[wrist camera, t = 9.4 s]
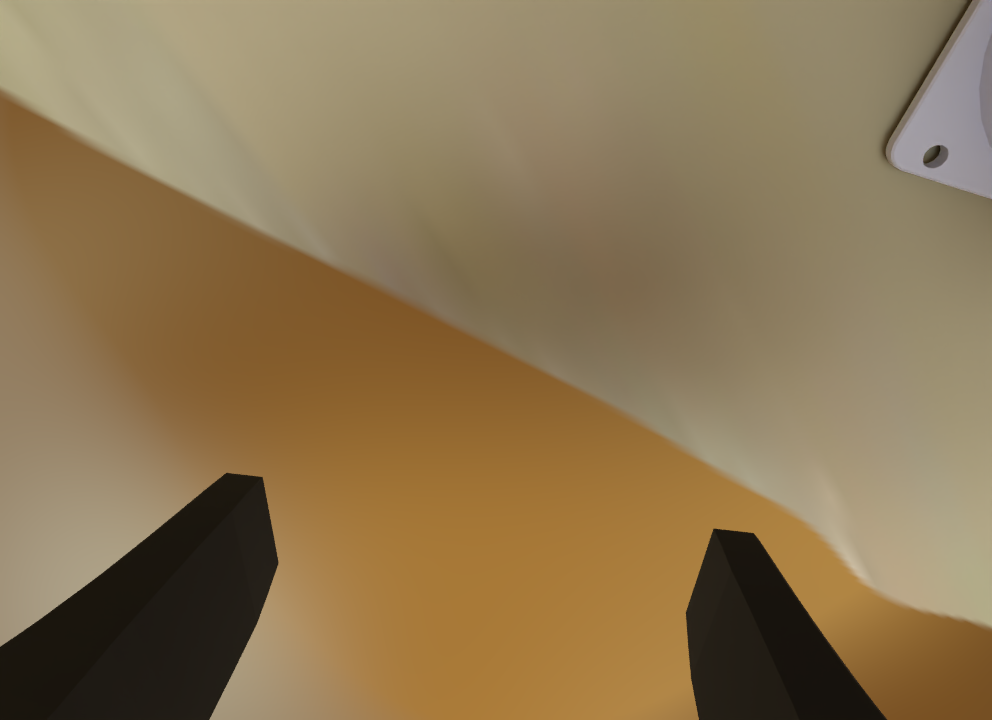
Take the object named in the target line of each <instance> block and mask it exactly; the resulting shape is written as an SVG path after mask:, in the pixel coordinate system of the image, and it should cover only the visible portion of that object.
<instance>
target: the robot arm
mask: <svg viewBox="0 0 992 720" xmlns="http://www.w3.org/2000/svg"><path fill="white" fill-rule="evenodd" d="M936 145H940V149H941V150H940V153H939V155H938V156H937V157H936V159H935V160H934V161H931V162H929V163H923V157H924V154H925V153H926V152H927V150H928V149H929V148H931V147H933V146H936ZM886 157H887V159H888V161H889V163H890V164H892V165H893V166H895V167H896V168H898V169H900V170H901V171H904V172H907V173H911V174H914V175H917V176H920V177H923V178H926V179H930V180H933V181H936V182H939V183H942V184H945V185H948V186H952V187H955V188H958V189H961V190H964V191H967V192H970V193H974V194H977V195H980V196H983V197H986V198H989V199H992V0H972V2H971V4H970V5H969V7H968V9H967V10H966V12H965V14H964V15H963V17H962V19H961V20H960V22H959V24H958V26H957V27H956V29H955V31H954V32H953V34H952V36H951V37H950V39H949V41H948V42H947V44H946V46H945V47H944V49H943V51H942V52H941V54H940V56H939V57H938V59H937V61H936V62H935V64H934V66H933V67H932V69H931V71H930V72H929V74H928V76H927V77H926V79H925V81H924V82H923V84H922V86H921V87H920V89H919V91H918V92H917V94H916V96H915V97H914V99H913V101H912V102H911V104H910V106H909V108H908V109H907V111H906V113H905V114H904V116H903V118H902V119H901V121H900V123H899V124H898V126H897V128H896V129H895V131H894V133H893V134H892V136H891V138H890V139H889V142H888V144H887V147H886ZM277 566H278V557H277V552H276V547H275V541H274V536H273V531H272V525H271V520H270V514H269V509H268V504H267V498H266V493H265V487H264V483H263V478H262V477H256V476H248V475H240V474H231V473H226V474H224V475H223V476H222V477H221V478H219V479H218V480H217V481H216V482H215V483H213V484H212V485H211V486H210V487H208V488H207V489H206V490H204V491H203V492H202V493H201V494H200V495H199V496H197V497H196V498H195V499H194V500H192V501H191V502H190V503H189V504H187V505H186V506H185V507H184V508H183V509H181V510H180V511H179V512H178V513H177V514H175V515H174V516H173V517H172V518H171V519H169V520H168V521H167V522H166V523H164V524H163V525H162V526H161V527H159V528H158V529H157V530H156V531H155V532H153V533H152V534H151V535H150V536H149V537H147V538H146V539H145V540H143V541H142V542H141V543H140V544H138V545H137V546H136V547H135V548H133V549H132V550H131V551H130V552H128V553H127V554H126V555H125V556H123V557H122V558H121V559H120V560H118V561H117V562H116V563H115V564H113V565H112V566H111V567H110V568H108V569H107V570H106V571H104V572H103V573H102V574H101V575H99V576H98V577H97V578H95V579H94V580H93V581H92V582H90V583H89V584H87V585H86V586H85V587H83V588H82V589H81V590H79V591H78V592H77V593H75V594H74V595H72V596H71V597H70V598H68V599H67V600H66V601H64V602H63V603H62V604H60V605H59V606H58V607H56V608H55V609H54V610H52V611H51V612H50V613H48V614H47V615H45V616H44V617H43V618H41V619H40V620H39V621H37V622H36V623H34V624H33V625H31V626H30V627H29V628H27V629H26V630H24V631H23V632H21V633H20V634H18V635H17V636H16V637H14V638H13V639H11V640H10V641H8V642H7V643H5V644H4V645H2V646H1V647H0V720H209V719H210V717H211V715H212V713H213V711H214V709H215V707H216V705H217V703H218V701H219V699H220V697H221V695H222V693H223V691H224V689H225V687H226V685H227V683H228V681H229V679H230V677H231V675H232V673H233V671H234V669H235V667H236V665H237V663H238V661H239V659H240V657H241V655H242V653H243V651H244V649H245V647H246V645H247V643H248V641H249V639H250V637H251V634H252V632H253V630H254V628H255V626H256V624H257V622H258V619H259V616H260V614H261V611H262V608H263V606H264V603H265V600H266V598H267V595H268V592H269V589H270V586H271V583H272V580H273V577H274V575H275V572H276V569H277ZM686 620H687V634H688V648H689V658H690V669H691V679H692V685H693V690H694V696H695V701H696V706H697V711H698V717H699V720H887V719H886V718H885V716H884V715H883V714H882V713H881V711H880V710H879V709H878V708H877V707H876V705H875V704H874V703H873V701H872V700H871V699H870V697H869V696H868V695H867V694H866V692H865V691H864V690H863V688H862V687H861V686H860V684H859V683H858V682H857V680H856V679H855V678H854V676H853V675H852V674H851V672H850V671H849V669H848V668H847V667H846V666H845V664H844V663H843V661H842V660H841V659H840V657H839V656H838V654H837V653H836V652H835V650H834V649H833V648H832V647H831V645H830V644H829V642H828V641H827V639H826V638H825V637H824V636H823V634H822V632H821V631H820V630H819V628H818V627H817V625H816V624H815V622H814V621H813V620H812V618H811V617H810V615H809V614H808V612H807V611H806V609H805V608H804V607H803V605H802V604H801V602H800V601H799V600H798V598H797V596H796V595H795V594H794V592H793V590H792V589H791V587H790V586H789V584H788V583H787V581H786V580H785V579H784V577H783V575H782V574H781V572H780V571H779V569H778V568H777V567H776V565H775V563H774V562H773V560H772V559H771V557H770V556H769V554H768V553H767V551H766V550H765V548H764V547H763V545H762V544H761V542H760V541H759V539H758V538H757V537H756V536H755V534H754V533H747V532H738V531H730V530H720V529H713V532H712V535H711V538H710V541H709V544H708V547H707V551H706V554H705V557H704V560H703V563H702V566H701V569H700V572H699V575H698V578H697V581H696V584H695V587H694V590H693V593H692V596H691V599H690V602H689V605H688V608H687V611H686Z"/></svg>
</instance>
